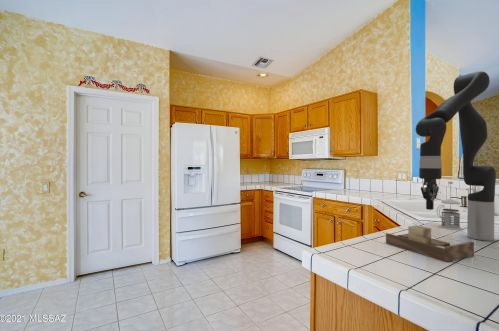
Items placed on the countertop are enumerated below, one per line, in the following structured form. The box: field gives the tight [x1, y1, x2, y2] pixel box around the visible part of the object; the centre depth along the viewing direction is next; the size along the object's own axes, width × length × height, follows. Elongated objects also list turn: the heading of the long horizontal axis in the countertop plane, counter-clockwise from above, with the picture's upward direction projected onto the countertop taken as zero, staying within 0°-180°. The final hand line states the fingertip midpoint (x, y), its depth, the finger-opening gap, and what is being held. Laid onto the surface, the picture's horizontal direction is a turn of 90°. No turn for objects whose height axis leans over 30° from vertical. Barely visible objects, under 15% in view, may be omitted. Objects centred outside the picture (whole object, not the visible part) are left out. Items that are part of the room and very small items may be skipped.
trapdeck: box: [385, 232, 475, 263], centre depth 103 cm, size 16×24×5 cm, turn 24°
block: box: [407, 224, 432, 244], centre depth 103 cm, size 6×6×6 cm
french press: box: [436, 181, 463, 231], centre depth 138 cm, size 10×12×25 cm
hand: (429, 209), depth 106 cm, fingers closed
